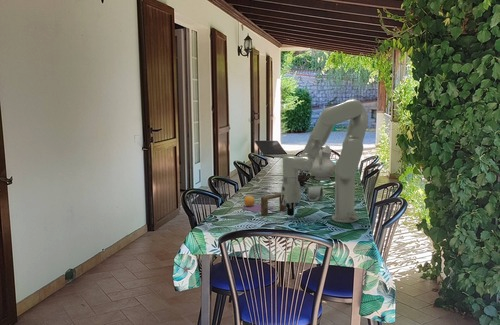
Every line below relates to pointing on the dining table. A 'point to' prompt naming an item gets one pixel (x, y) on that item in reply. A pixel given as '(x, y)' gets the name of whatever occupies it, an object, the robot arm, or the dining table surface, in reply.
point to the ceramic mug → (315, 193)
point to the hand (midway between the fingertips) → (290, 215)
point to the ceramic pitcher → (323, 165)
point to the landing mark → (255, 208)
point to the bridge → (265, 204)
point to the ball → (249, 201)
